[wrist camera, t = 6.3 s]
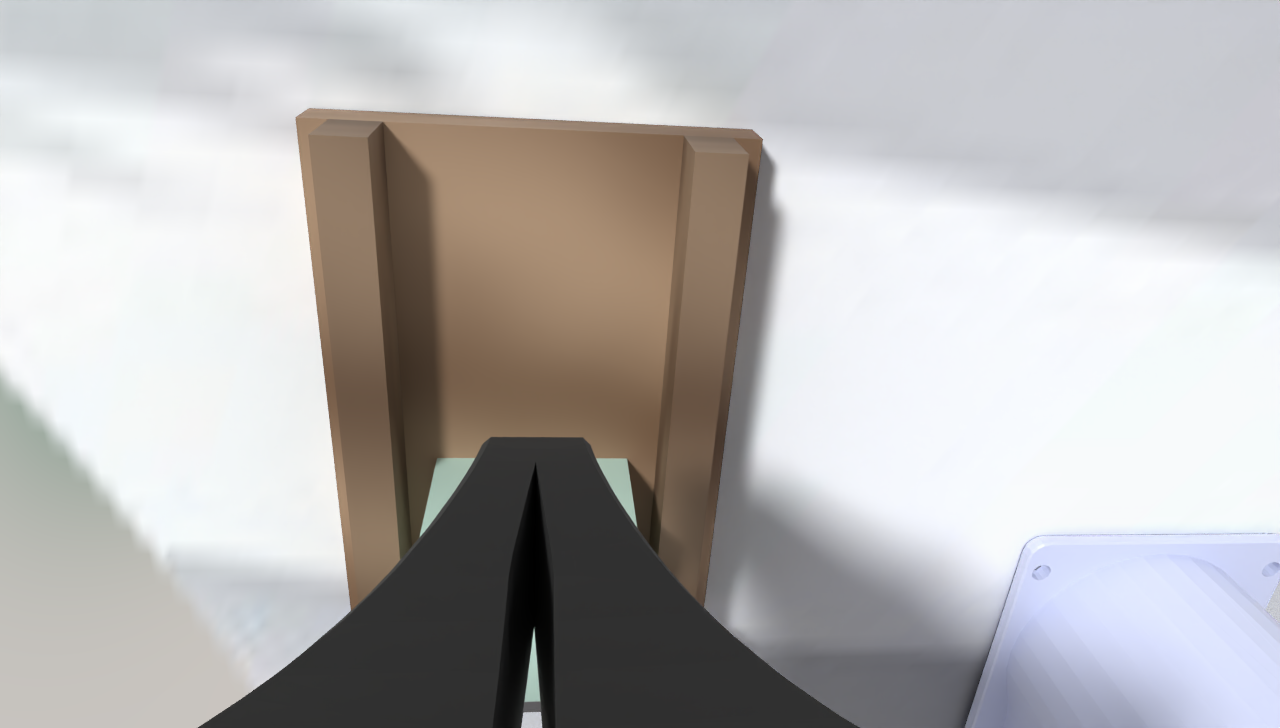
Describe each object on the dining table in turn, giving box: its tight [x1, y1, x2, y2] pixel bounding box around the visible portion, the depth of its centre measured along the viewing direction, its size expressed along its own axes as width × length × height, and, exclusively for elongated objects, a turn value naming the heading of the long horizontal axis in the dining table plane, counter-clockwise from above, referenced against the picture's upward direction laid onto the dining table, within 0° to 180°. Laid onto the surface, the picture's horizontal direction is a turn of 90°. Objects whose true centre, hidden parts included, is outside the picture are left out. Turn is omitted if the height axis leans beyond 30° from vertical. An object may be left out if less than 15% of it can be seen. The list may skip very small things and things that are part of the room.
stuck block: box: [419, 458, 637, 702], centre depth 19 cm, size 4×4×4 cm
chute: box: [296, 108, 763, 712], centre depth 19 cm, size 13×9×4 cm
